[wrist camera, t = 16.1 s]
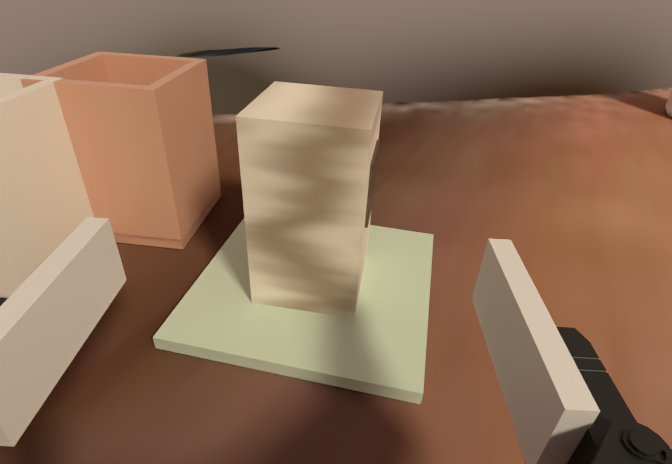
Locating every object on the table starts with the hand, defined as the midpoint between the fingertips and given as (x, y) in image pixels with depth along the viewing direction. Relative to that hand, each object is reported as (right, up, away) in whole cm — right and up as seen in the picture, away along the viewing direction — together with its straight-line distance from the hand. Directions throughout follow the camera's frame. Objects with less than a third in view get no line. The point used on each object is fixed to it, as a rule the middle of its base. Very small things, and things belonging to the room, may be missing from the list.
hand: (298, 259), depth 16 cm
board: (0, -3, +12) cm, 13 cm away
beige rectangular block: (0, -2, +12) cm, 12 cm away
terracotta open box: (-13, +2, +19) cm, 23 cm away
